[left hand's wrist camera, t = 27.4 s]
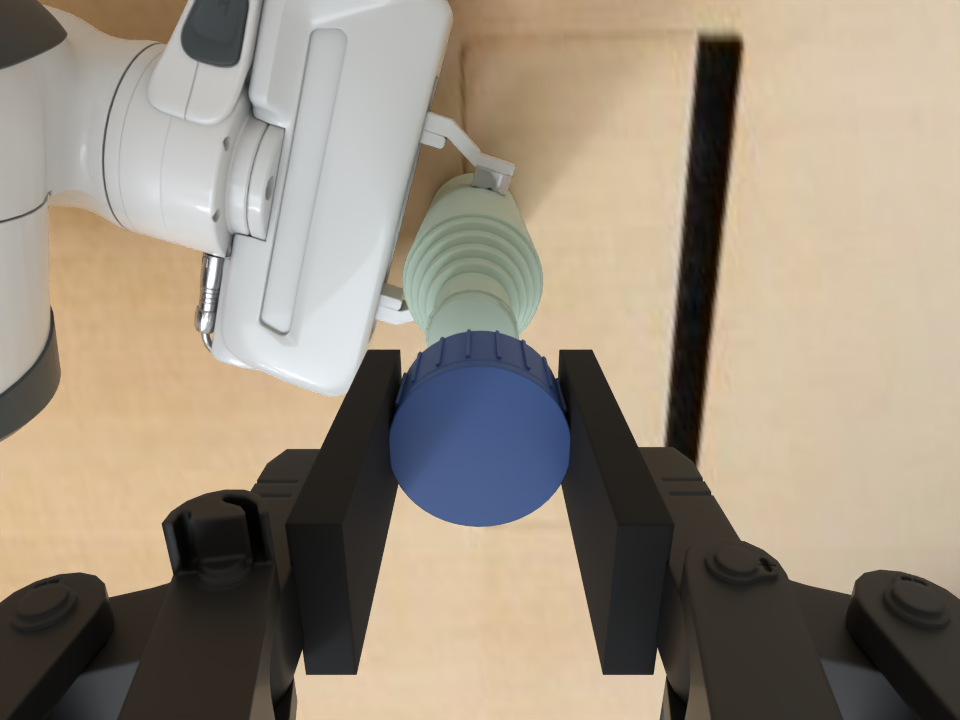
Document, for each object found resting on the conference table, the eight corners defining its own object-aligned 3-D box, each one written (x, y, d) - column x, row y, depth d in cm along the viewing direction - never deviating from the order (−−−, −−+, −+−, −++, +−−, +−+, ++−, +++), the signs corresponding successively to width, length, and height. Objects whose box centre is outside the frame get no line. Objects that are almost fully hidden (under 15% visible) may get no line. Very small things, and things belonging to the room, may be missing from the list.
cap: (585, 353, 14) (602, 393, 12) (532, 491, 16) (539, 547, 13) (421, 307, 14) (411, 339, 12) (381, 453, 15) (366, 505, 13)
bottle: (473, 280, 39) (472, 452, 19) (410, 218, 37) (341, 338, 18) (536, 219, 37) (602, 338, 18) (473, 152, 36) (471, 205, 17)
